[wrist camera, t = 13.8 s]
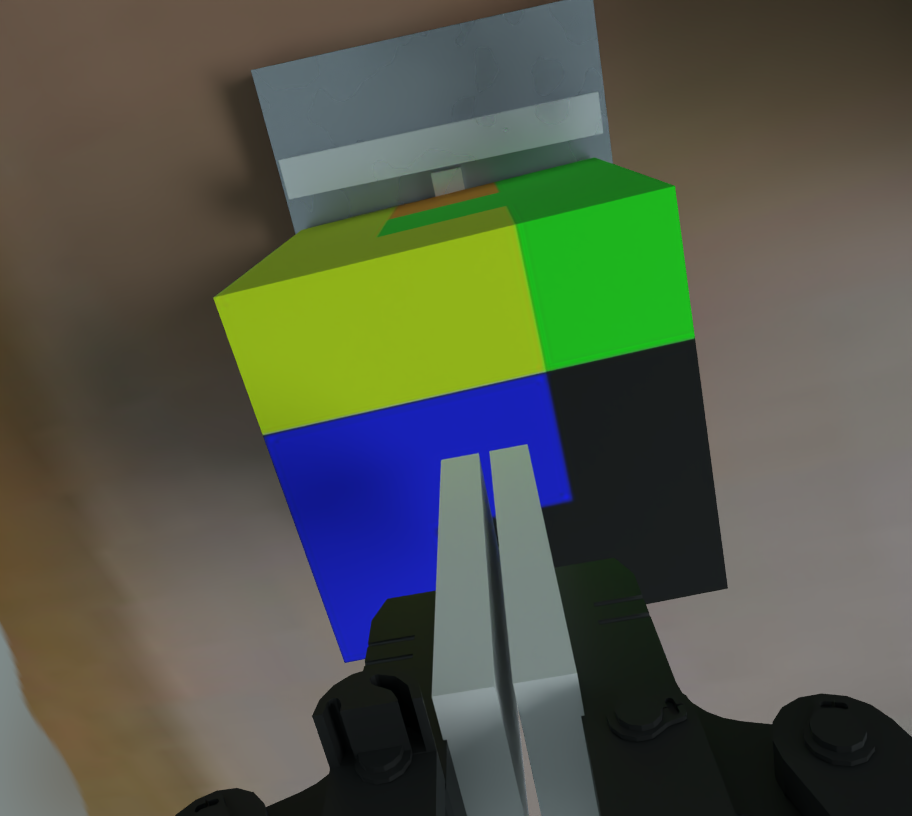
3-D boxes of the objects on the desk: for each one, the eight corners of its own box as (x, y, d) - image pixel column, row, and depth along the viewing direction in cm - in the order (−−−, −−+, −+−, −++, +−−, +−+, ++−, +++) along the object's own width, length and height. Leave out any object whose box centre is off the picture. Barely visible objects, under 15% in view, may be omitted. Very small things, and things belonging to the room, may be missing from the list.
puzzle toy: (380, 487, 29) (344, 662, 20) (301, 229, 26) (213, 297, 17) (639, 431, 29) (727, 588, 19) (594, 157, 25) (674, 185, 16)
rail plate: (259, 72, 26) (236, 67, 23) (586, -1, 25) (602, -15, 22) (394, 572, 33) (389, 615, 30) (651, 528, 32) (670, 567, 29)
